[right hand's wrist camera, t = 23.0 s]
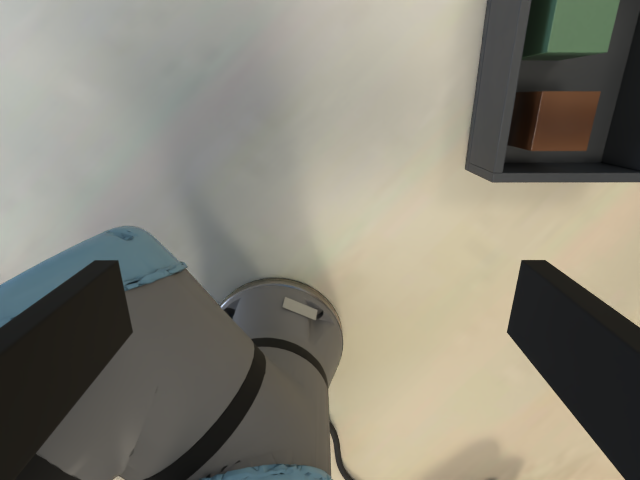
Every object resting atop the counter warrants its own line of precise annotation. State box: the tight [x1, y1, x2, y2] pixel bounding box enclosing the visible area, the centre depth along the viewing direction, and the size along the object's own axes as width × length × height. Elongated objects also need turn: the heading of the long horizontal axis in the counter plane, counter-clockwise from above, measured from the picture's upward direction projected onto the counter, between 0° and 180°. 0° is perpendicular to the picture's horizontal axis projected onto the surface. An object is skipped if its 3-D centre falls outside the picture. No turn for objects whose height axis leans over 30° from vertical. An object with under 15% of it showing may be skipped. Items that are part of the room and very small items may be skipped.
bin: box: [465, 0, 640, 182], centre depth 32 cm, size 17×24×6 cm
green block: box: [522, 0, 620, 60], centre depth 30 cm, size 4×4×6 cm
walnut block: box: [507, 91, 601, 151], centre depth 32 cm, size 4×4×6 cm
